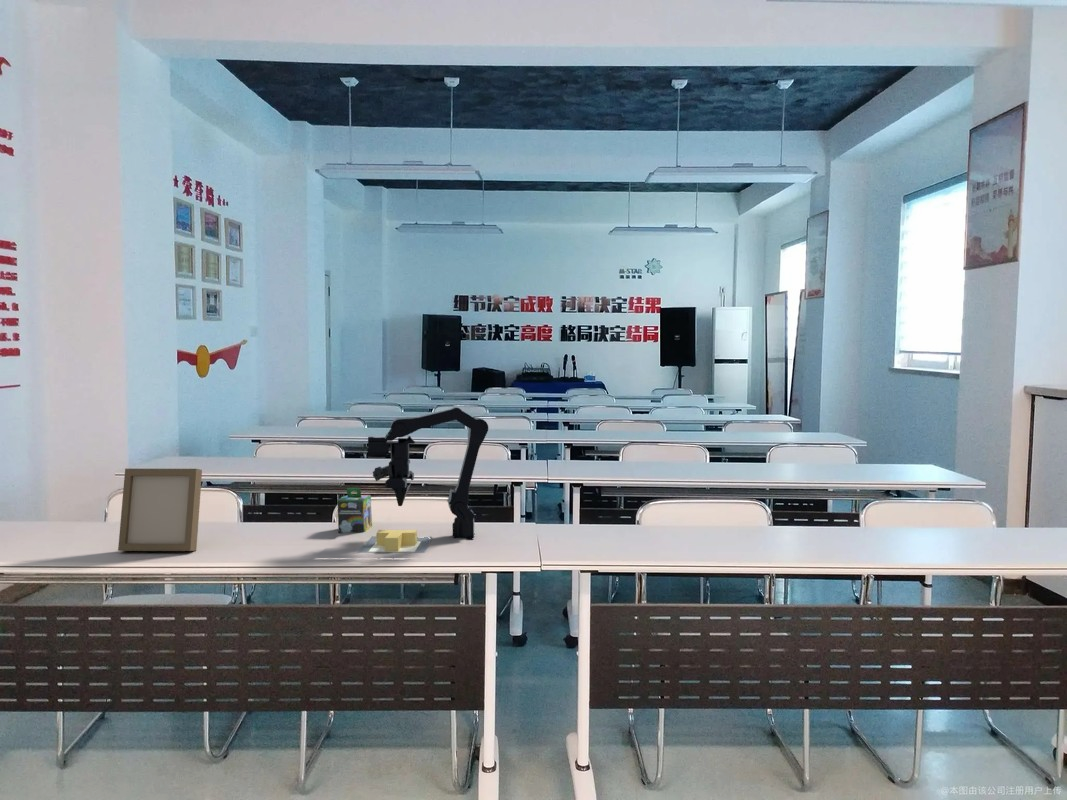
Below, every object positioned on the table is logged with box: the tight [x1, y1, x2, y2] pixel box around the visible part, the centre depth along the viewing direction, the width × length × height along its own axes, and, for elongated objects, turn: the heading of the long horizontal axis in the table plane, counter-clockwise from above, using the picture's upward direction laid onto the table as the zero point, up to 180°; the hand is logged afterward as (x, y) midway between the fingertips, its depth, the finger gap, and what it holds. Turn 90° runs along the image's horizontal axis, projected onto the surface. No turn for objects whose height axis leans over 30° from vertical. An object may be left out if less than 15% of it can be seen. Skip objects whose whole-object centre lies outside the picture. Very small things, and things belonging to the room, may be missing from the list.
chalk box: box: [337, 487, 373, 533], centre depth 275 cm, size 9×9×15 cm
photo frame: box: [117, 468, 203, 552], centre depth 250 cm, size 15×22×25 cm
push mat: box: [357, 536, 433, 554], centre depth 254 cm, size 20×21×1 cm
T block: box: [375, 529, 418, 551], centre depth 250 cm, size 12×11×4 cm
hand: (400, 505), depth 261 cm, fingers closed
